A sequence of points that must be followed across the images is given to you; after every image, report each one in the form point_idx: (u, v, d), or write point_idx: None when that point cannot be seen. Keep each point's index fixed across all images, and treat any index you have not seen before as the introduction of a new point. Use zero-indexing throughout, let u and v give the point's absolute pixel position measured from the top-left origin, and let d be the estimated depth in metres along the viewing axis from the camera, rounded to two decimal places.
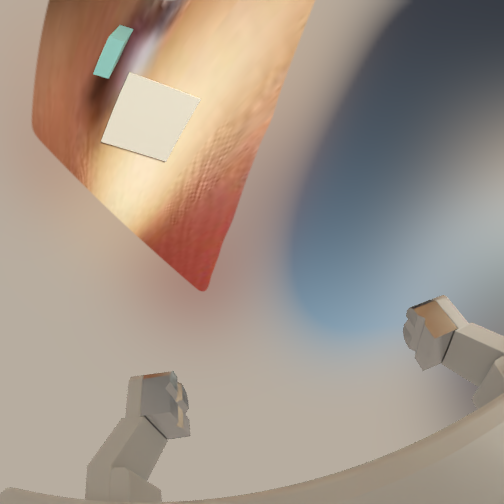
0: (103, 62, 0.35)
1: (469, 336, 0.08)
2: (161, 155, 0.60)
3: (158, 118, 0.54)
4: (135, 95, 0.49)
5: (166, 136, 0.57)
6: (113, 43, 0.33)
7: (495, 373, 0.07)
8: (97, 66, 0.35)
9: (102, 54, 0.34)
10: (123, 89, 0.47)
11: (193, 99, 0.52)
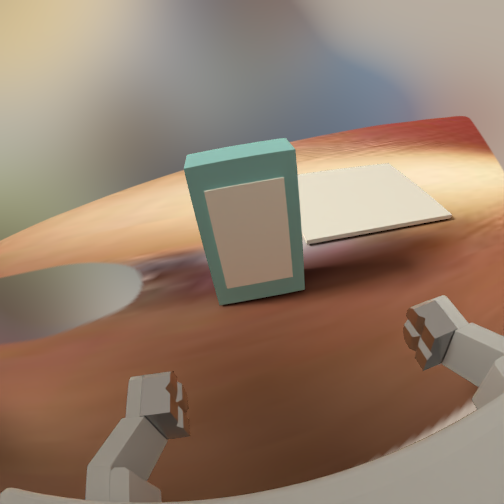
0: (253, 150, 0.17)
1: (469, 336, 0.08)
2: (386, 168, 0.37)
3: (343, 187, 0.34)
4: (337, 217, 0.29)
5: (357, 174, 0.36)
6: (197, 159, 0.17)
7: (495, 373, 0.07)
8: (270, 151, 0.17)
9: (234, 157, 0.17)
10: (343, 231, 0.27)
11: None
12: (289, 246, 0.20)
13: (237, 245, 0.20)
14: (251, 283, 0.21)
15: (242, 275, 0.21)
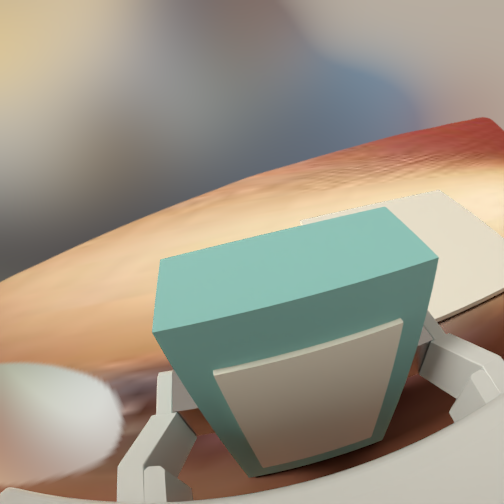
0: (335, 260, 0.07)
1: (445, 348, 0.08)
2: (440, 197, 0.27)
3: None
4: None
5: (408, 210, 0.26)
6: (187, 290, 0.07)
7: (471, 387, 0.07)
8: (383, 267, 0.06)
9: (292, 292, 0.06)
10: None
11: None
12: (377, 411, 0.09)
13: (287, 432, 0.09)
14: (302, 456, 0.11)
15: (290, 454, 0.10)
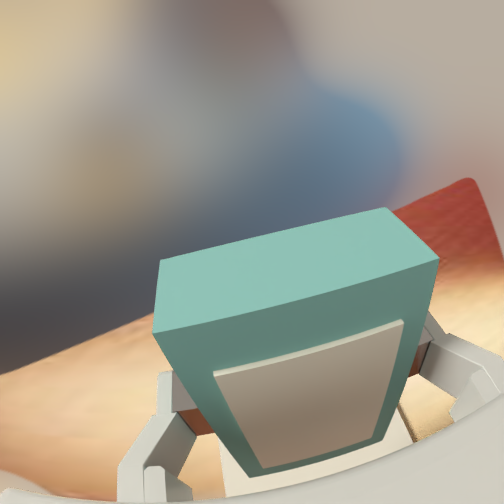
0: (335, 261, 0.07)
1: (445, 348, 0.08)
2: None
3: None
4: (272, 488, 0.19)
5: None
6: (187, 290, 0.07)
7: (471, 387, 0.07)
8: (383, 267, 0.06)
9: (292, 293, 0.06)
10: None
11: None
12: (378, 411, 0.09)
13: (287, 432, 0.09)
14: (303, 457, 0.11)
15: (290, 455, 0.10)
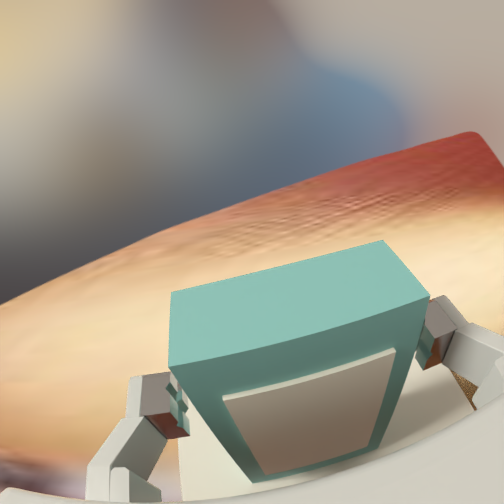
0: (334, 298, 0.07)
1: (469, 336, 0.08)
2: None
3: None
4: None
5: None
6: (198, 325, 0.07)
7: (495, 373, 0.07)
8: (378, 305, 0.07)
9: (294, 331, 0.07)
10: (250, 491, 0.12)
11: None
12: (372, 424, 0.10)
13: (288, 444, 0.09)
14: (302, 464, 0.11)
15: (291, 463, 0.11)
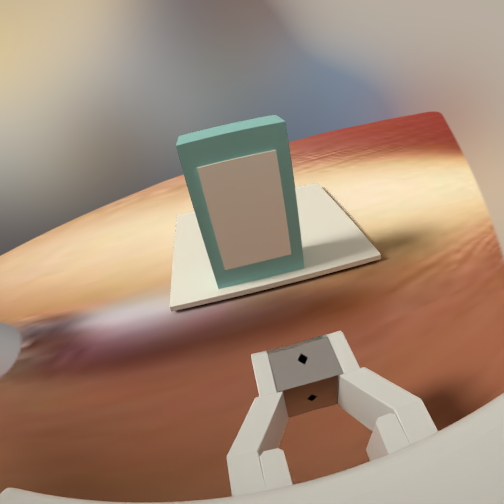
0: (244, 126, 0.17)
1: (354, 384, 0.08)
2: (312, 189, 0.32)
3: None
4: None
5: None
6: (189, 138, 0.17)
7: (376, 432, 0.07)
8: (261, 124, 0.17)
9: (226, 132, 0.17)
10: (216, 293, 0.21)
11: (181, 219, 0.32)
12: (286, 221, 0.20)
13: (233, 223, 0.19)
14: (249, 263, 0.21)
15: (240, 255, 0.20)
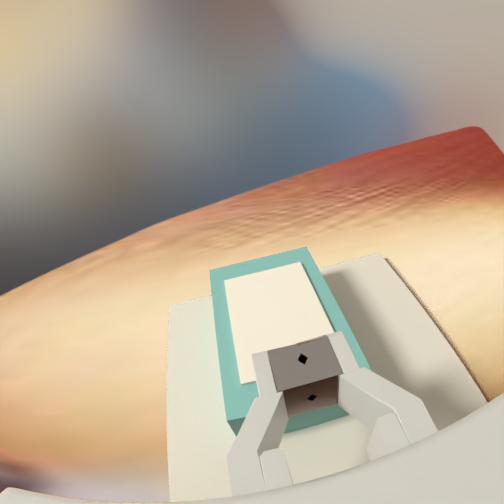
0: None
1: (354, 384, 0.08)
2: (375, 268, 0.21)
3: None
4: None
5: None
6: None
7: (376, 432, 0.07)
8: None
9: None
10: None
11: (175, 315, 0.20)
12: (326, 318, 0.14)
13: (257, 323, 0.15)
14: None
15: None
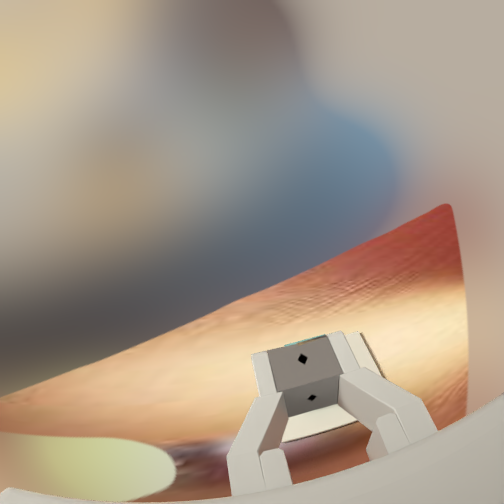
0: None
1: (354, 384, 0.08)
2: (355, 339, 0.45)
3: None
4: (306, 416, 0.36)
5: None
6: None
7: (376, 432, 0.07)
8: None
9: None
10: (308, 433, 0.34)
11: None
12: None
13: None
14: None
15: None
